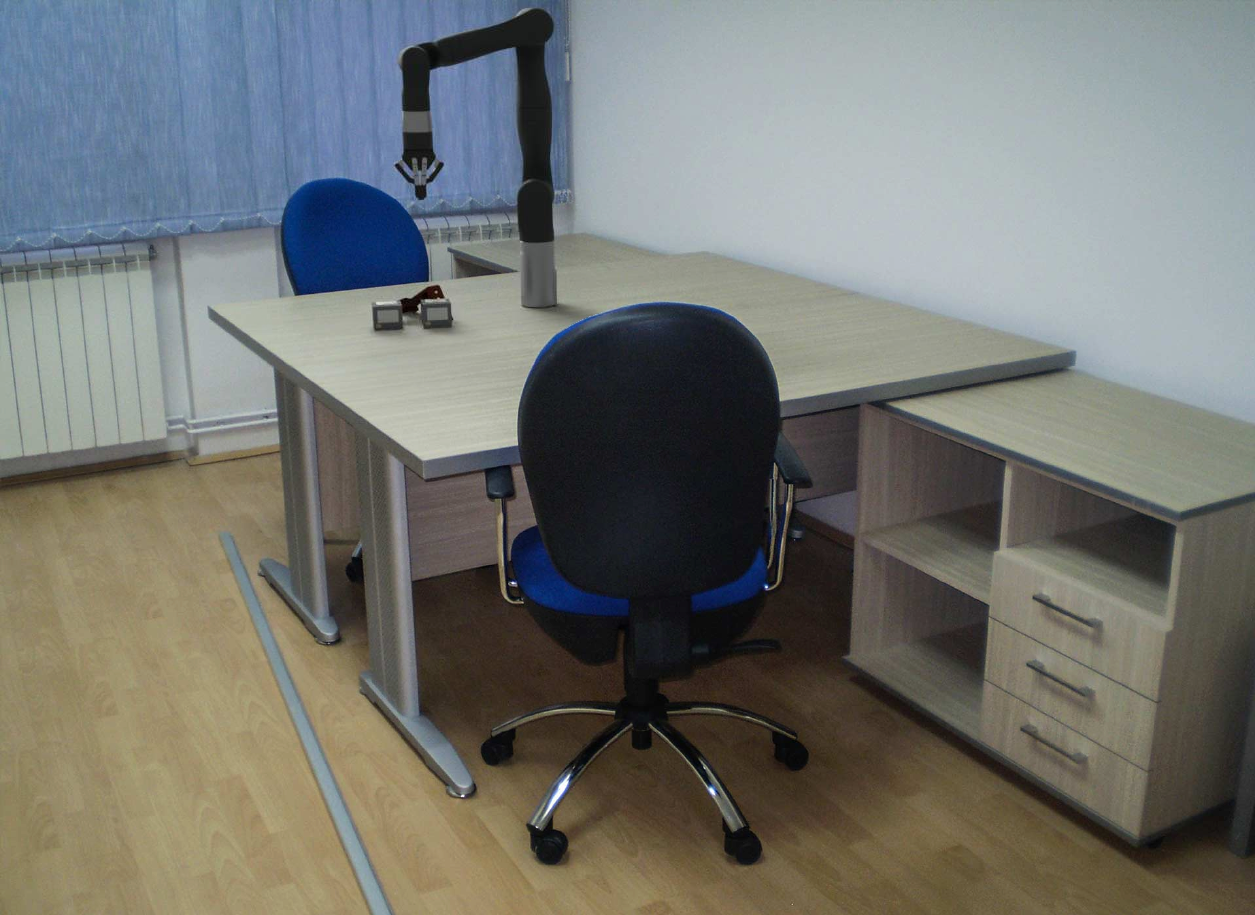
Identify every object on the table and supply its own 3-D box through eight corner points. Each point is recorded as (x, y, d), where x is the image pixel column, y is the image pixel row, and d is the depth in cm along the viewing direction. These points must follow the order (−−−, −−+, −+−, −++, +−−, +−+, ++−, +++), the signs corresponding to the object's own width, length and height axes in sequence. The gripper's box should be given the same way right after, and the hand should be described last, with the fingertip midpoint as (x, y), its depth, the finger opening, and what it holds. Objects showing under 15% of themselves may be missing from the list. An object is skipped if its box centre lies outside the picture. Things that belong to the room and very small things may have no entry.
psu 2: (449, 321, 321) (448, 297, 319) (452, 327, 315) (451, 302, 314) (421, 323, 320) (420, 299, 318) (423, 328, 314) (422, 303, 312)
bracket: (422, 326, 316) (407, 289, 316) (392, 347, 326) (377, 311, 327) (454, 319, 324) (439, 283, 324) (423, 340, 334) (409, 304, 334)
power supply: (401, 324, 319) (400, 300, 317) (403, 329, 313) (401, 304, 311) (373, 325, 317) (371, 301, 315) (374, 331, 311) (372, 306, 309)
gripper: (442, 128, 323) (445, 197, 329) (389, 129, 320) (393, 198, 326) (445, 130, 316) (448, 200, 322) (391, 131, 314) (395, 202, 319)
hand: (420, 199), depth 324 cm, fingers closed
